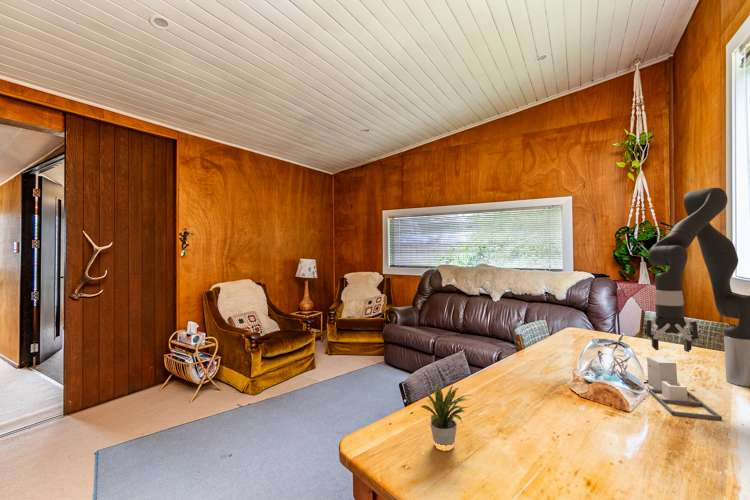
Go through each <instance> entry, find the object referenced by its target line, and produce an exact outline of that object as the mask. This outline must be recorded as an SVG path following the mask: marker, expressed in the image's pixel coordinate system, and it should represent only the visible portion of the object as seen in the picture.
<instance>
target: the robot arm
mask: <svg viewBox="0 0 750 500" xmlns="http://www.w3.org/2000/svg"><path fill="white" fill-rule="evenodd" d="M682 199H683V206H684V210H685V213H686V215H687V216H686V217H685V218H683V219H682V220H680V221H679V222H677V223H676V224H675V225H674V226H672V228H671V230H670V231H669V232H668V234H667V235H666V236H665V237H663V238H661V239H660V240H659V241H658V242H656V243H655V244H653V245H652V246H651V247H650V248H649V250H648V253H647V260H648V262H649V263H650V264H651V265H653V266H657V267H658V266H659V267H669V269H668V270H667V271H665V272H659V273H657V274H655V277H654V278H655V280H654V281H655V283H654V284H655V294H654V303H655V319H649V318H645V319H644V336H646V337H647V338H650V339H651V347H652V348H653V350H655V351H659V350H660V349H659V347H660V345H659V337H660V336H662V335H663V334H664V333H665V334H679V335H680V336H682V337H683V350H684V352H686V353H690V351H691V350H692V341H694V340H699V332H698V331H699V330H698V323H697V322H696V321H694V320H692V319H690V320H688V321H687V320H685V307H684V305H685V301H684V295H683V286H682V285H683V283H682V282H683V281H682V280H683V279H682V277H683V274H684V271H685V267H686V264H687V261H688V258H689V257H688V252H687V250H686V249H687V248H689V246H690V245H691V244H692V243H693V241H694V240H695V239H696V238H697V241H698V245H699V248H700V253H701V255H702V258H703V261H704V264H705V267H706V270H707V273H708V276H709V280H710V283H711V288H712V294H713V300H714V304H715V308H716V310H717V312H718V314H720V316H722V317H724V318H730V319H736V320H738V324H737V325H735V326H728V327H725V328H723V342H724V364H725V365H724V367H725V378H726V379H725V380H726V382H727V383H730V384H733V385H737V386H742V387H749V388H750V295H748V294H738V293H737V294H735V293H733V290H732V288H731V279H732V276H733V274H734V273H735V271H736V269H737V267H738V263H739V256H738V254H737V250H736V247H735V244H734V243H733V242H732V241H731V240H730V239H729V237H727V236H726V235H724V234H723V233H721V232H720V231H719V230H718V229H716V227H714V226H713V225H712V224H711V223H710V222H712V221H713V220H714V218H716V217H717V216H719V214H721V212H722V211H724V209H726V206H727V204H728V195H727V193H726V191H725V190H724V189H723V188H721V187H709V188H704V189H699V190H694V191H693V190H692V191H689V192H687V193H685V194H684V196H683V198H682ZM654 324H655V325H656V326H657V327H656V328H655V329H654V330H653V331H652V327H653V326H654ZM685 327H688V328H689V334H688V333H687V332H686V331H685V329H684V328H685Z"/></svg>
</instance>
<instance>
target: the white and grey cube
mask: <svg viewBox="0 0 750 500" xmlns="http://www.w3.org/2000/svg"><path fill="white" fill-rule="evenodd" d="M661 383H662V393H661V396H662V397H664V399H670V400H680V401H688V395H687V391H688V387H687V386H686V385H684V384H682V383H681V382H678V381H677V382H668V381H661Z"/></svg>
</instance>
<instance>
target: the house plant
mask: <svg viewBox="0 0 750 500" xmlns="http://www.w3.org/2000/svg"><path fill="white" fill-rule="evenodd" d="M453 386H454V385H453V384H452V385H451V387H449V390H448V392H447V393H446V394H445V397H444V395H443V391H442V388H441V385H440V384H438V385H437V384H436V383H434V393H433V395H434V396H435V397H434V398H435V399H434V398H433V396H431V394H429V392H427V391H425V390H423V392H424V393H425V394H426V396H427V398H428V399H429V400H428V399H427V398H425V400H426V401H427V402H428V403H429V404H430V405H431V407H432V408H431V407H430V406H428V405H426V404H423V405H421V406H420V407H419V408H422V409H425V410H427V411H429V412H430V413H432V414H430V421H429V422H430V423H429V424H430V430H431V434H432V439H433V442H434V441H435V443H437V444H440V445H445V446H447V445H452V444H453V443H454V442H456V434H457V427H458V426H457V425H458V424H457V422H456V420H455V419H454V418H456V419H459V420H460V421H461V423H462V418H461V416H460V415H459V414H461V413H466V411H465V408H468V406H460V405H457V404H458V403H460V402H464V401H465V400H467V398H465V397H469V396H470V394H465V395H464V394H463V395H462V396H458V397H457V398H456V399H454V398H455V397H456V393H457V391H458V390H459V388H460V387H455V388H454V390H453ZM470 400H471V399H470V398H469V399H468V401H470ZM455 409H456V410H455ZM454 444H455V443H454Z"/></svg>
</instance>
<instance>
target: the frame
mask: <svg viewBox="0 0 750 500" xmlns="http://www.w3.org/2000/svg"><path fill="white" fill-rule="evenodd" d="M645 380H646V381H647V383H646V384H648V379H645ZM647 387H648V389H649V392H648V393H649V394H650V395H651V396H652V397H653V398H654V399H655V400H656V401H657V402H658V403H659V404H660V406H662V407H663V408H664V409H666V410H667V412H669V414H670V415H672V416H678V417H688V418H697V419H699V418H700V419H707V420H716V421H717V420H718V421H722V420H723V417H722V415H720V414H719V413H718V412H716V411H715V410H714V409H712V408H711V407H710V406H708V405H707V404H705V403H704V402H703V401H702V400H701V399H699V398H697V397H696V396H695V395H694V394H692V393H691V391H688V390H687V397H689V398H690V399H692V400H693V401H690V400H687V401H680V400H670V399H666V398H660V397H659V396H658V395H657V394H662V390H659V389H656V388H650V387H649V386H647ZM668 404H675V405H685V406H694V407H696V406H697V407H702V408H704V409H705V410H706V411H707V412H708V413H710V414H704V413H697V412H696V413H695V412H685V411H678V410H677V411H675V410H673V409H672V408H671V407H670V406H668Z"/></svg>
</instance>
